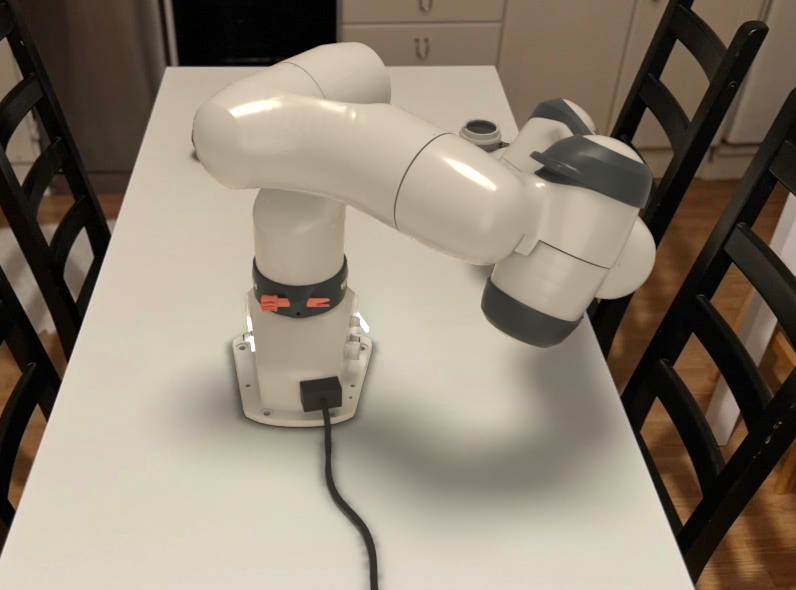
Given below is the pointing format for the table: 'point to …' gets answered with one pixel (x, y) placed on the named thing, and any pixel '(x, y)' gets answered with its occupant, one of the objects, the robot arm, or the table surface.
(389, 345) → the table surface
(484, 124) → the cup
